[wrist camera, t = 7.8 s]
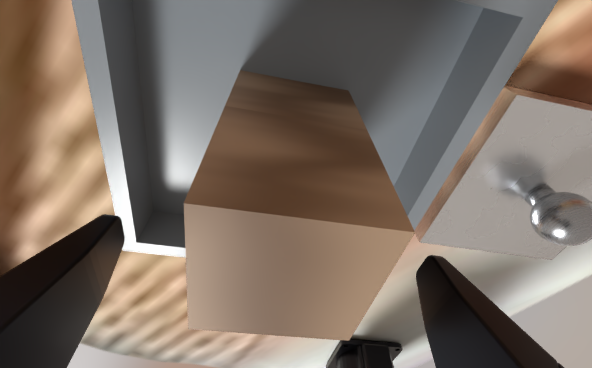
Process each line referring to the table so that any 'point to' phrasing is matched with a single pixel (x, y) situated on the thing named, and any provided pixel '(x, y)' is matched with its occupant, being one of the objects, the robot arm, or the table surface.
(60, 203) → the table surface
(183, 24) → the tray
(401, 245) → the wooden block
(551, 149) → the stud plate
